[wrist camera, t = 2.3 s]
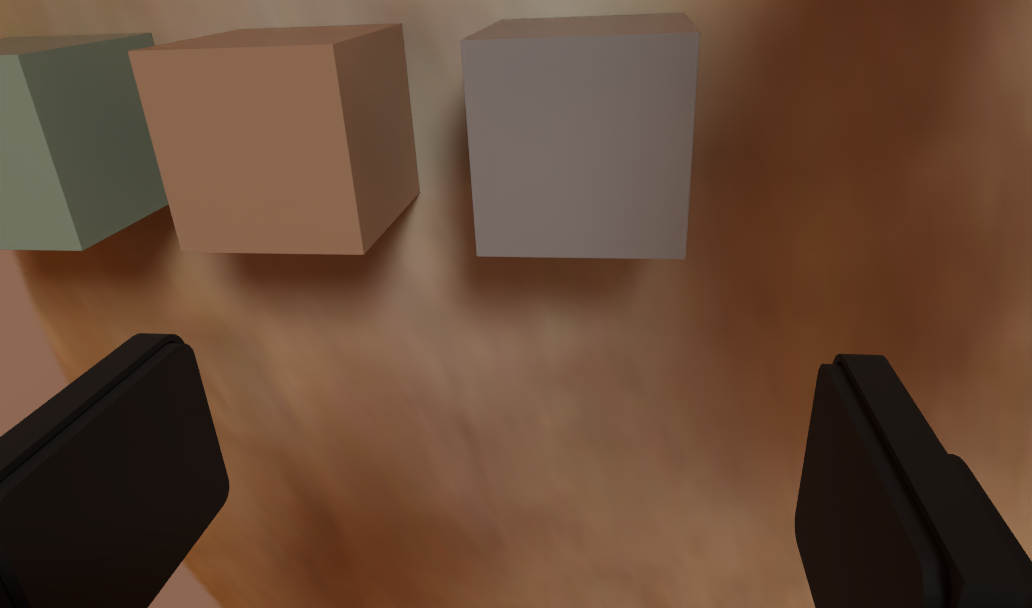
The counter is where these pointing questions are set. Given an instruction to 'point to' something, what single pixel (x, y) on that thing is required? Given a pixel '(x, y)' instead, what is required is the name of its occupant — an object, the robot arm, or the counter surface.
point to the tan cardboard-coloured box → (282, 137)
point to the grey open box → (582, 135)
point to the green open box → (73, 142)
